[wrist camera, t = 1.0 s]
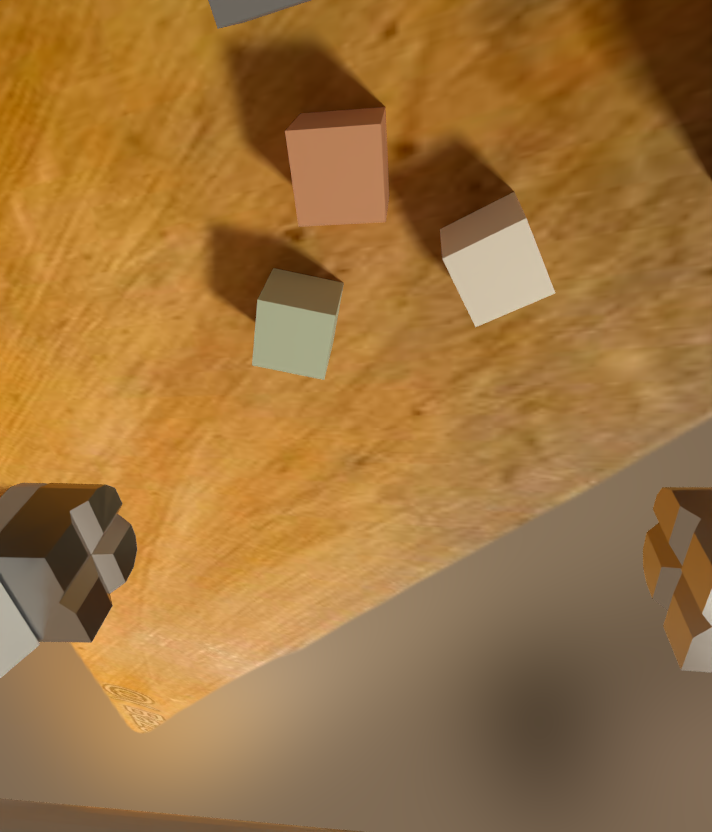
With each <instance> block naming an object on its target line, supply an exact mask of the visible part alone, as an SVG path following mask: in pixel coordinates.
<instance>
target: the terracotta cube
mask: <svg viewBox="0 0 712 832" xmlns="http://www.w3.org/2000/svg"><path fill="white" fill-rule="evenodd" d="M285 135H286V142H287V149H288V156H289V163H290V170H291V177H292V184H293V191H294V198H295V205H296V212H297V219H298V226H299V227H301V226H320V225H339V224H358V223H377V222H386V216H387V209H388V202H389V177H388V155H387V133H386V111H385V107H377V108H364V109H351V110H338V111H325V112H312V113H300V115H299V116H298V117H297V118H296V119H295V120H294V121H293V122H292V124H291V125H290V126H289V127H288V128H287V129H286V130H285Z"/></svg>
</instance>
